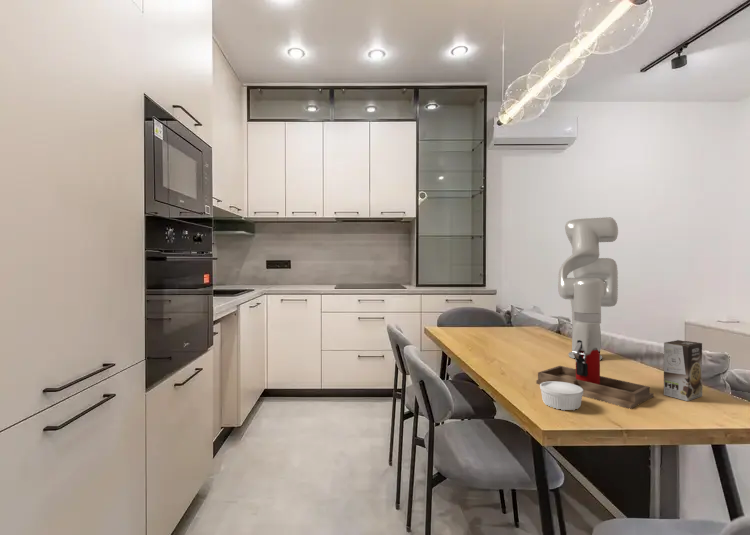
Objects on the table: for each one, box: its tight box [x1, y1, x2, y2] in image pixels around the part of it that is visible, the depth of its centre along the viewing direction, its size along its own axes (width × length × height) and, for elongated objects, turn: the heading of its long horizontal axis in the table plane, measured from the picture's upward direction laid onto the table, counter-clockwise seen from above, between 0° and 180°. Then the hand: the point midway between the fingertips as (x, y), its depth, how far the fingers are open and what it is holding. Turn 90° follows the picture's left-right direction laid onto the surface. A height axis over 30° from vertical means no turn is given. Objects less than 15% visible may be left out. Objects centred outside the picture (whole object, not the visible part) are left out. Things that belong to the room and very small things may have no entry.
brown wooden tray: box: [535, 365, 654, 410], centre depth 118 cm, size 28×16×4 cm, turn 35°
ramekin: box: [539, 381, 583, 411], centre depth 106 cm, size 11×11×5 cm
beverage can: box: [576, 348, 601, 384], centre depth 119 cm, size 7×7×12 cm
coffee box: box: [663, 339, 703, 402], centre depth 112 cm, size 9×6×16 cm
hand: (587, 372), depth 119 cm, fingers closed on beverage can, 6 cm apart
